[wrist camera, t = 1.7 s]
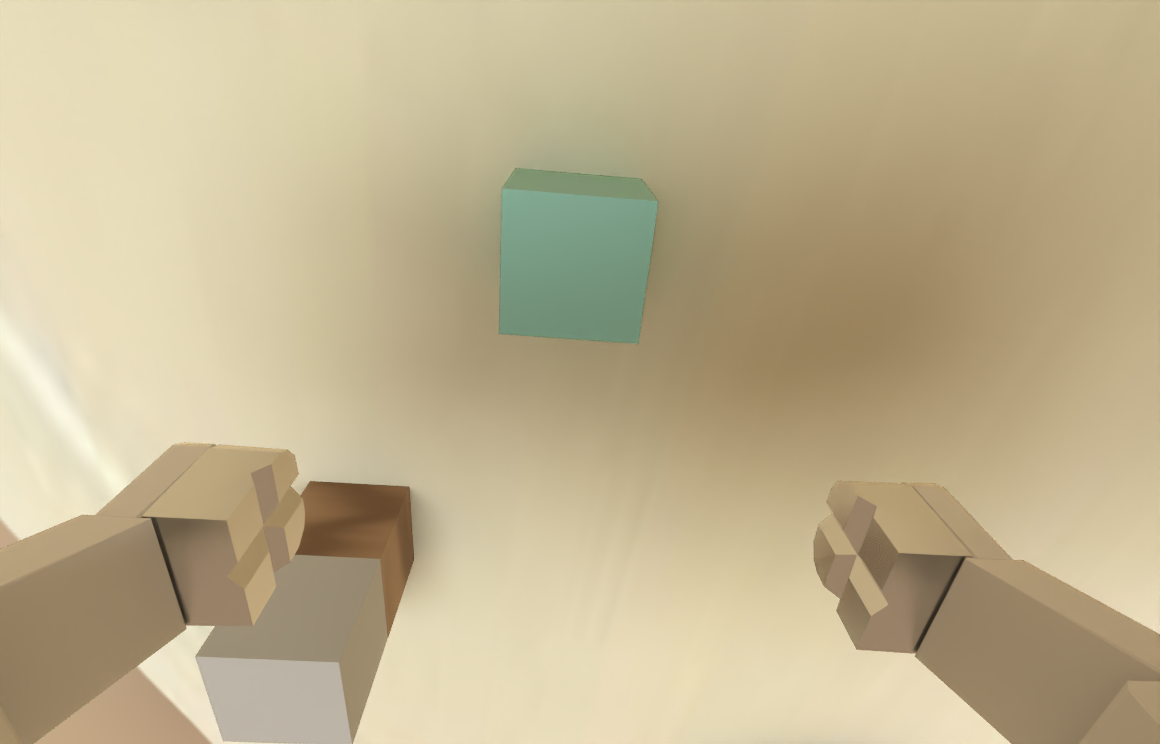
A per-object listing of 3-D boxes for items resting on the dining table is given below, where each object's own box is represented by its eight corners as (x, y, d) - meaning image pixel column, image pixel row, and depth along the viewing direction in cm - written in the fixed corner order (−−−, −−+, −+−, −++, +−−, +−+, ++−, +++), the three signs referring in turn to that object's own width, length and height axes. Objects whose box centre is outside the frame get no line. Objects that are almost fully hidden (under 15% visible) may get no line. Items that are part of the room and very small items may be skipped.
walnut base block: (409, 486, 29) (380, 558, 25) (414, 558, 32) (388, 636, 27) (310, 481, 29) (263, 553, 25) (322, 554, 31) (280, 632, 27)
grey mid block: (380, 558, 25) (338, 662, 21) (387, 636, 27) (352, 745, 23) (262, 553, 25) (195, 656, 20) (280, 632, 27) (223, 741, 23)
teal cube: (641, 178, 23) (658, 201, 18) (626, 297, 25) (638, 343, 21) (515, 168, 23) (502, 188, 18) (511, 288, 25) (498, 334, 20)
